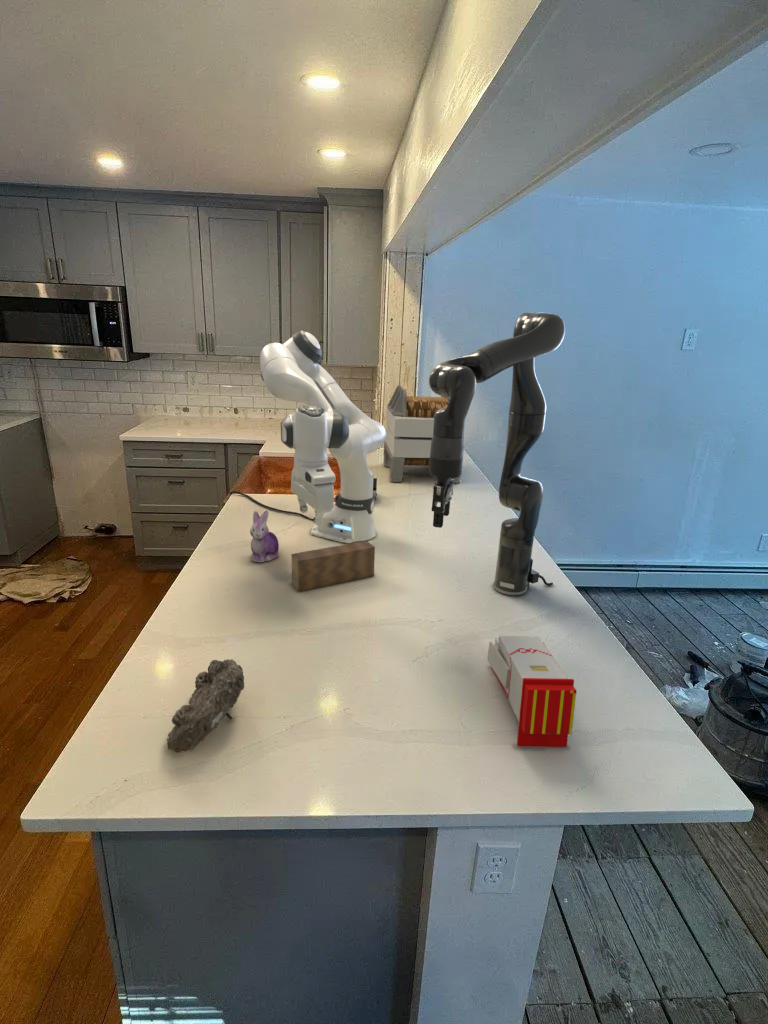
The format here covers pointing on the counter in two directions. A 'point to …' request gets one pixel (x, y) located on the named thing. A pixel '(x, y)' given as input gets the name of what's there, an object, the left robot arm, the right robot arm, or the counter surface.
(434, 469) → the right robot arm
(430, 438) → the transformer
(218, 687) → the fossil
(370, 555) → the bar
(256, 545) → the figurine
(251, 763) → the counter surface
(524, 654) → the toy
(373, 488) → the figurine character
